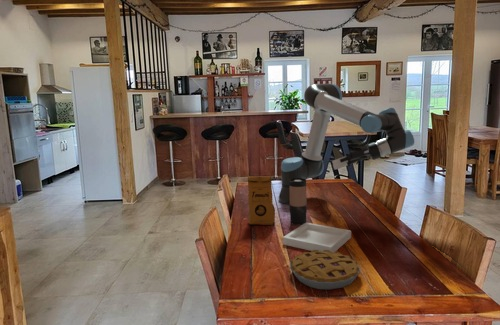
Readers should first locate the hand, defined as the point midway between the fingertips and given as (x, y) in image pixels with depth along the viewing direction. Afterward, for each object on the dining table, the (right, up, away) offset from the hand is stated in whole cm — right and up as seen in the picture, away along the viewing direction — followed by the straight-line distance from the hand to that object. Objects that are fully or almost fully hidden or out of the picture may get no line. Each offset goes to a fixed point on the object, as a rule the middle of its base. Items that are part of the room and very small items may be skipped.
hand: (333, 165), depth 173 cm
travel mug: (-16, -26, -2) cm, 31 cm away
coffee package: (-33, -27, -2) cm, 42 cm away
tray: (-12, -30, -25) cm, 41 cm away
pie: (-15, -35, -53) cm, 65 cm away
